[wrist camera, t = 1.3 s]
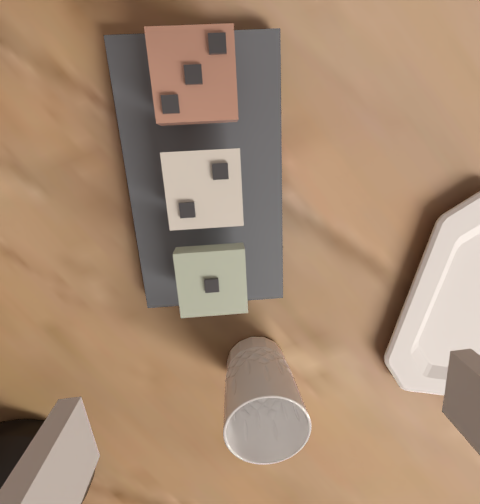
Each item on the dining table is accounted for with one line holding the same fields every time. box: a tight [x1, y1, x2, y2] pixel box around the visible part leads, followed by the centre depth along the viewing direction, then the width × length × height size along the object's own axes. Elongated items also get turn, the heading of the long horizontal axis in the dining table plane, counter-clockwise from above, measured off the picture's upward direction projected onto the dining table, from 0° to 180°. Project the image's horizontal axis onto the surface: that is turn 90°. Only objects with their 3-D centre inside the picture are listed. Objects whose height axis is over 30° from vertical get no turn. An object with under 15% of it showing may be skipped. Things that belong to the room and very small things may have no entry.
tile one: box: [173, 243, 248, 318], centre depth 27 cm, size 6×6×2 cm
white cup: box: [223, 337, 311, 464], centre depth 32 cm, size 8×8×10 cm
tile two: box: [160, 148, 244, 231], centre depth 25 cm, size 6×6×2 cm
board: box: [104, 28, 283, 308], centre depth 29 cm, size 14×24×2 cm, turn 3°
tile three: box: [144, 23, 239, 126], centre depth 22 cm, size 6×6×2 cm
